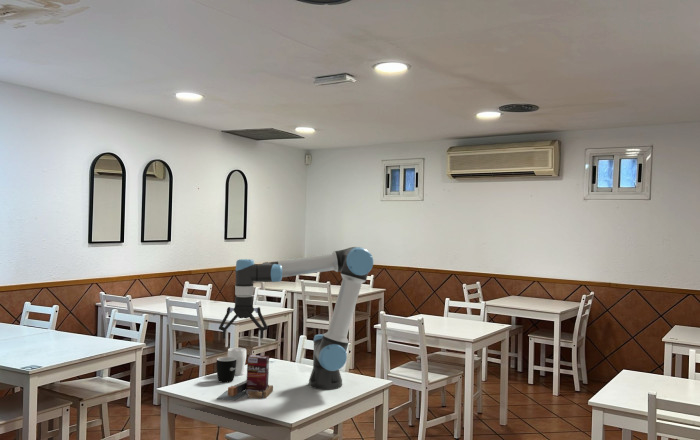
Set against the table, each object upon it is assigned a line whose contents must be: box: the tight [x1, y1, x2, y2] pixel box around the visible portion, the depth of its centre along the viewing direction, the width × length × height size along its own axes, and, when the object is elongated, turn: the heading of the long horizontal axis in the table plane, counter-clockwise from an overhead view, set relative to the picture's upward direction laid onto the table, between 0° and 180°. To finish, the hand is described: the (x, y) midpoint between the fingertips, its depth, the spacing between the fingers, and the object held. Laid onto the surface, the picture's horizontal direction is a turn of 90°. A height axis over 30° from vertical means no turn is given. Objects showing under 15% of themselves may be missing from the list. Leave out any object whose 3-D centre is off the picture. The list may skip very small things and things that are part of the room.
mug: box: [216, 356, 236, 384], centre depth 263 cm, size 12×9×10 cm
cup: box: [227, 347, 247, 377], centre depth 275 cm, size 9×9×12 cm
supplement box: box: [245, 354, 270, 396], centre depth 242 cm, size 9×5×16 cm, turn 85°
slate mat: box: [216, 389, 246, 401], centre depth 238 cm, size 8×12×1 cm, turn 173°
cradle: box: [248, 384, 274, 399], centre depth 243 cm, size 12×15×2 cm
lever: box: [227, 379, 247, 396], centre depth 242 cm, size 3×19×5 cm, turn 159°
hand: (242, 346), depth 238 cm, fingers open, 13 cm apart
